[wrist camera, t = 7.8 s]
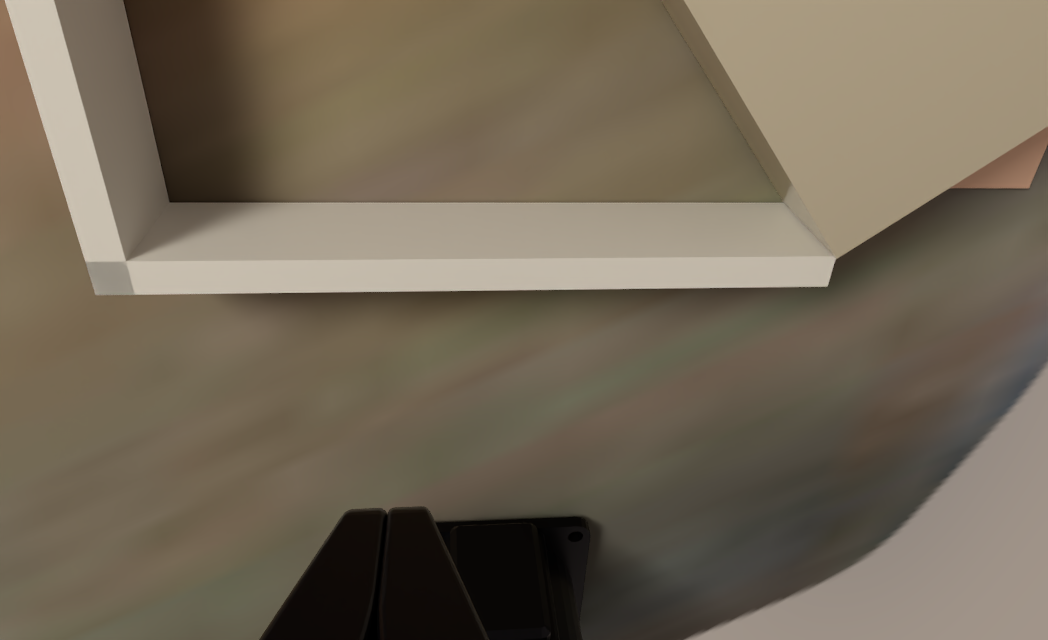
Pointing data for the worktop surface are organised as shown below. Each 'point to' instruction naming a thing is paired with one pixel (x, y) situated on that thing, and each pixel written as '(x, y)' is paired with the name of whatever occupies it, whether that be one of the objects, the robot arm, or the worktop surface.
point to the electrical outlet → (872, 96)
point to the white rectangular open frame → (352, 209)
